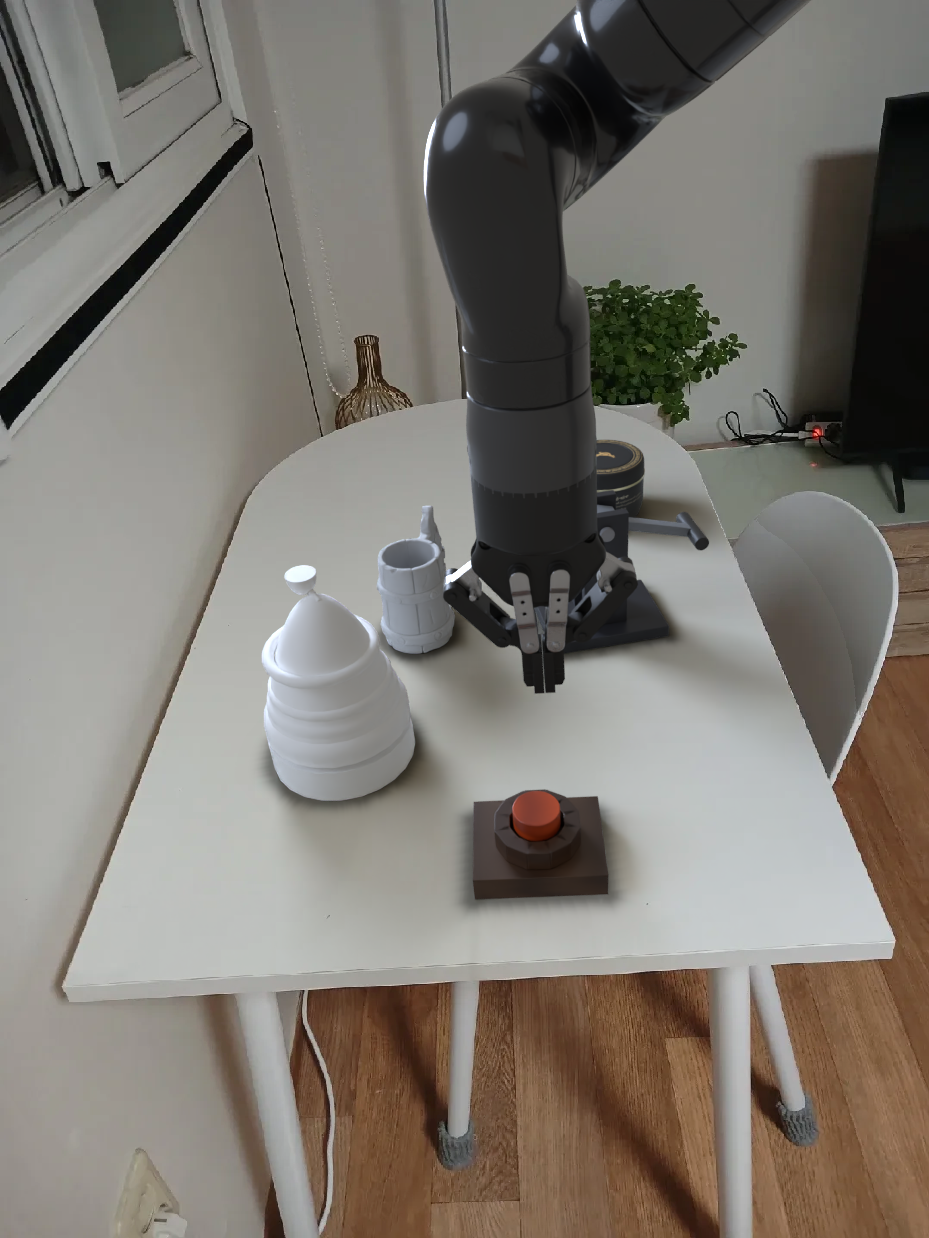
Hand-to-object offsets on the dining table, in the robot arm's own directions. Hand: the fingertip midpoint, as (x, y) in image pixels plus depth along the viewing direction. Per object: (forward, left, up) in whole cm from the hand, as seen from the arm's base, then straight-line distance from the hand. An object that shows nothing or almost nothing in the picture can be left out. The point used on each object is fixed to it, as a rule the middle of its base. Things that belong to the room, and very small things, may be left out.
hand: (544, 685), depth 66 cm
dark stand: (+19, -24, -16) cm, 35 cm away
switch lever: (+17, -28, -7) cm, 33 cm away
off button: (0, +2, -13) cm, 13 cm away
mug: (+32, -10, -16) cm, 37 cm away
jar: (+36, -40, -16) cm, 56 cm away
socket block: (0, +2, -16) cm, 16 cm away
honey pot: (+21, +7, -16) cm, 27 cm away
